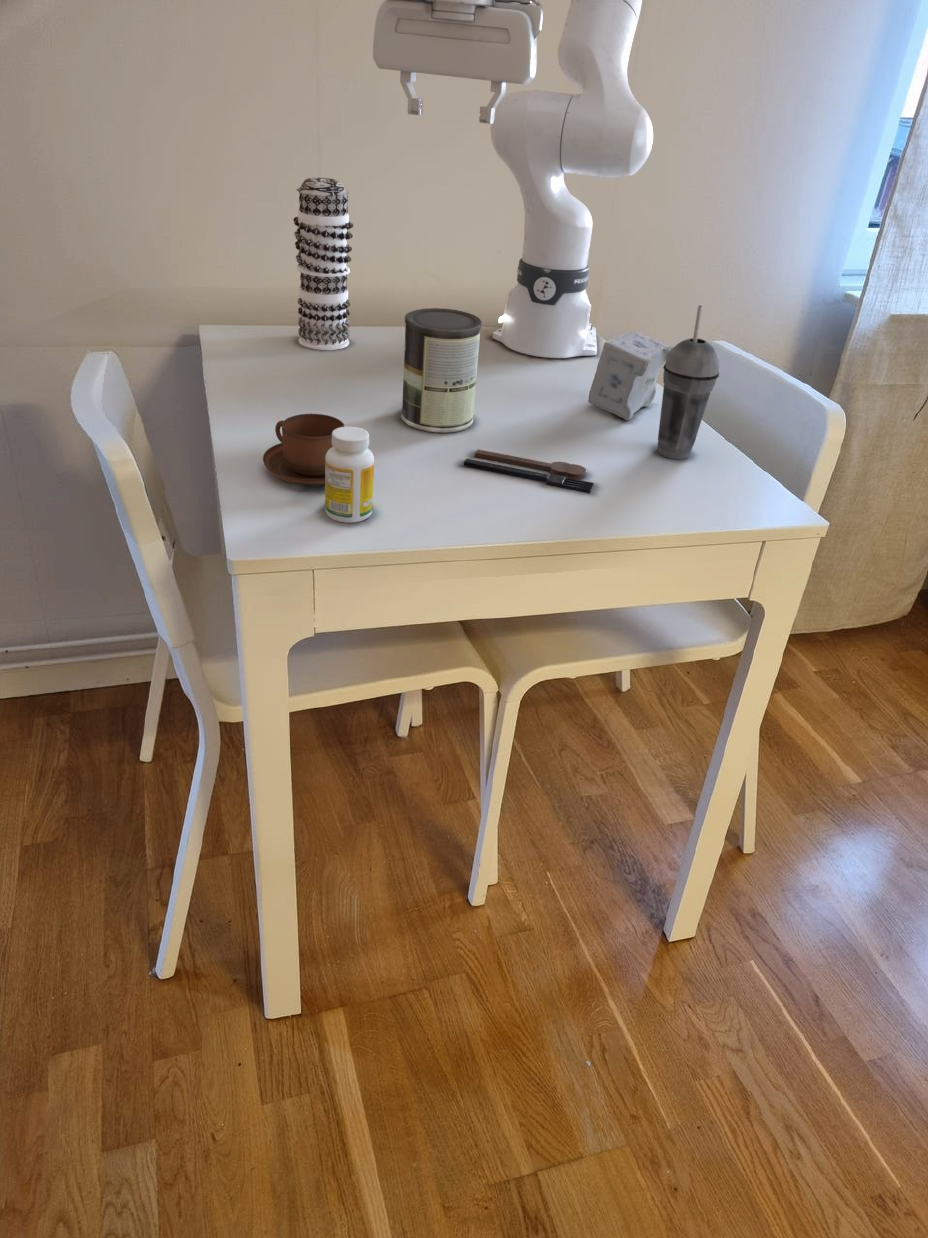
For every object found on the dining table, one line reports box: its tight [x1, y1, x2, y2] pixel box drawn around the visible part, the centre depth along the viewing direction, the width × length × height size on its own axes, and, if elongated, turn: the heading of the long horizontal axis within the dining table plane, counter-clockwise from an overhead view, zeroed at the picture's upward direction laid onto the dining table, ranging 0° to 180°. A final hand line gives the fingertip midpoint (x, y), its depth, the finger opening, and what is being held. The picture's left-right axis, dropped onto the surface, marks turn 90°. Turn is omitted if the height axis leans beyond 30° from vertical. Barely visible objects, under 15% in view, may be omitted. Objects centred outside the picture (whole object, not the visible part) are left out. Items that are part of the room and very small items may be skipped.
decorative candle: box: [292, 177, 354, 351], centre depth 150 cm, size 9×9×25 cm
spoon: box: [474, 448, 588, 480], centre depth 120 cm, size 3×15×1 cm, turn 73°
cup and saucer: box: [262, 413, 345, 486], centre depth 112 cm, size 12×12×6 cm
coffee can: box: [400, 307, 483, 434], centre depth 128 cm, size 10×10×14 cm
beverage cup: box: [656, 305, 720, 460], centre depth 123 cm, size 7×7×20 cm
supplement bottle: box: [324, 426, 375, 524], centre depth 103 cm, size 5×5×10 cm
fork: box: [463, 458, 594, 494], centre depth 118 cm, size 2×17×1 cm, turn 73°
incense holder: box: [587, 329, 674, 422], centre depth 139 cm, size 10×8×10 cm
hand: (450, 118), depth 117 cm, fingers open, 8 cm apart
